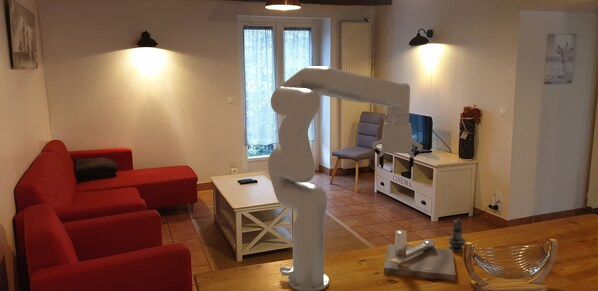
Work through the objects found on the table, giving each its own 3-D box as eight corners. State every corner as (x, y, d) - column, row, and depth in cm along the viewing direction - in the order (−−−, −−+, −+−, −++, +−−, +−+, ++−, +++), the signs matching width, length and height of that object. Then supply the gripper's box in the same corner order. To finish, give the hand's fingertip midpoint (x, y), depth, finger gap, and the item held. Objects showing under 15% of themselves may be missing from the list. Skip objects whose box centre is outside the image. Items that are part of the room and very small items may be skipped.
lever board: (383, 273, 152) (383, 265, 152) (388, 248, 172) (388, 242, 171) (455, 280, 147) (455, 273, 146) (451, 254, 166) (451, 247, 166)
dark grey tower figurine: (462, 246, 174) (464, 214, 171) (466, 252, 168) (468, 220, 166) (446, 245, 174) (448, 214, 172) (449, 252, 168) (451, 220, 166)
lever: (426, 242, 168) (428, 218, 166) (436, 246, 165) (437, 221, 163) (391, 258, 155) (392, 231, 154) (401, 262, 152) (402, 235, 151)
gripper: (371, 120, 161) (370, 169, 164) (423, 121, 156) (421, 171, 159) (373, 117, 168) (372, 164, 171) (423, 118, 163) (421, 166, 167)
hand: (396, 168), depth 165 cm, fingers open, 9 cm apart
